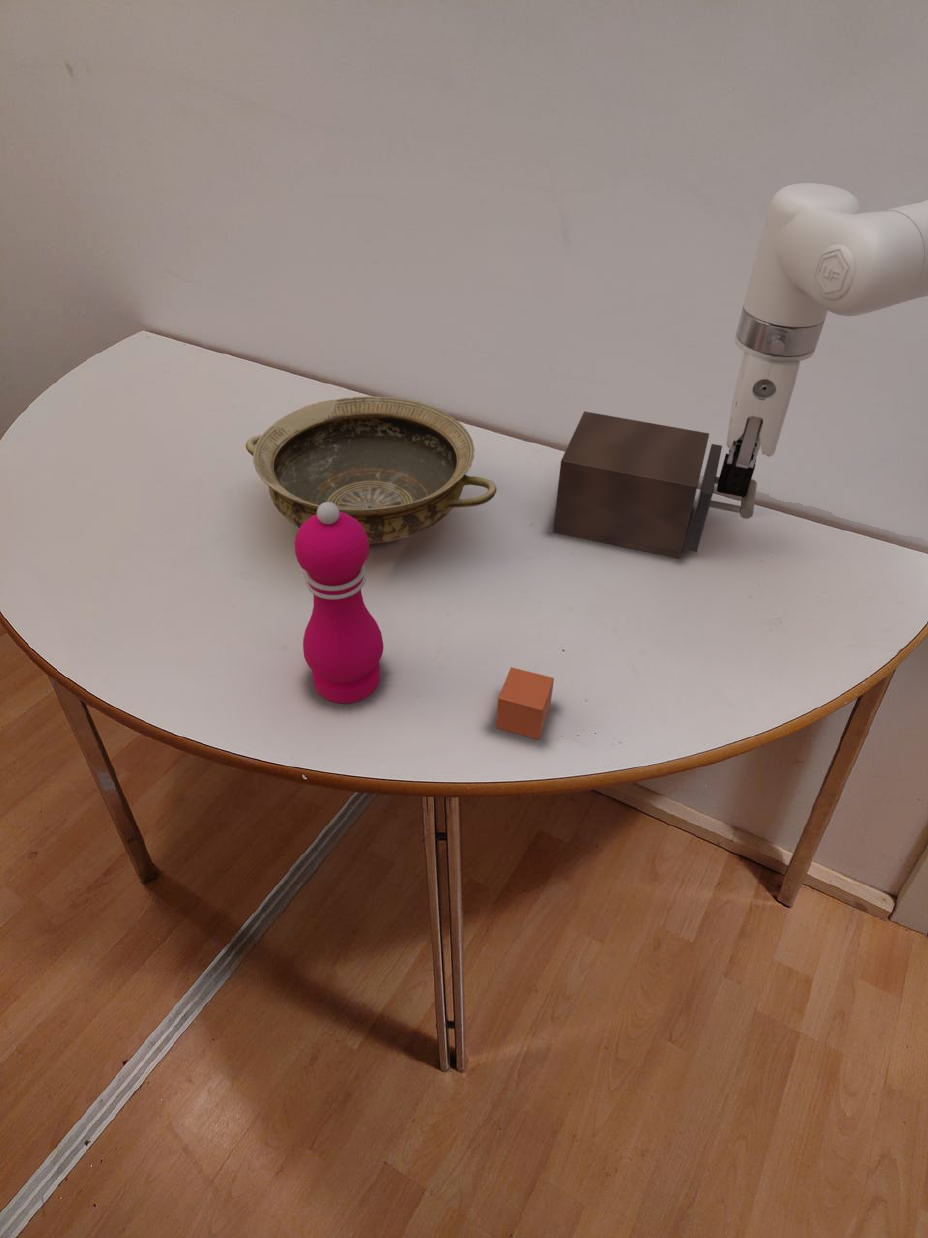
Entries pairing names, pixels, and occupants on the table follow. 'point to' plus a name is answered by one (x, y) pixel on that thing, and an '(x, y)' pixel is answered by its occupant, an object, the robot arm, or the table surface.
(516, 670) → the block
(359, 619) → the pepper mill
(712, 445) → the drawer
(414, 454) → the ceramic bowl
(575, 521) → the cabinet
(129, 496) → the table surface
